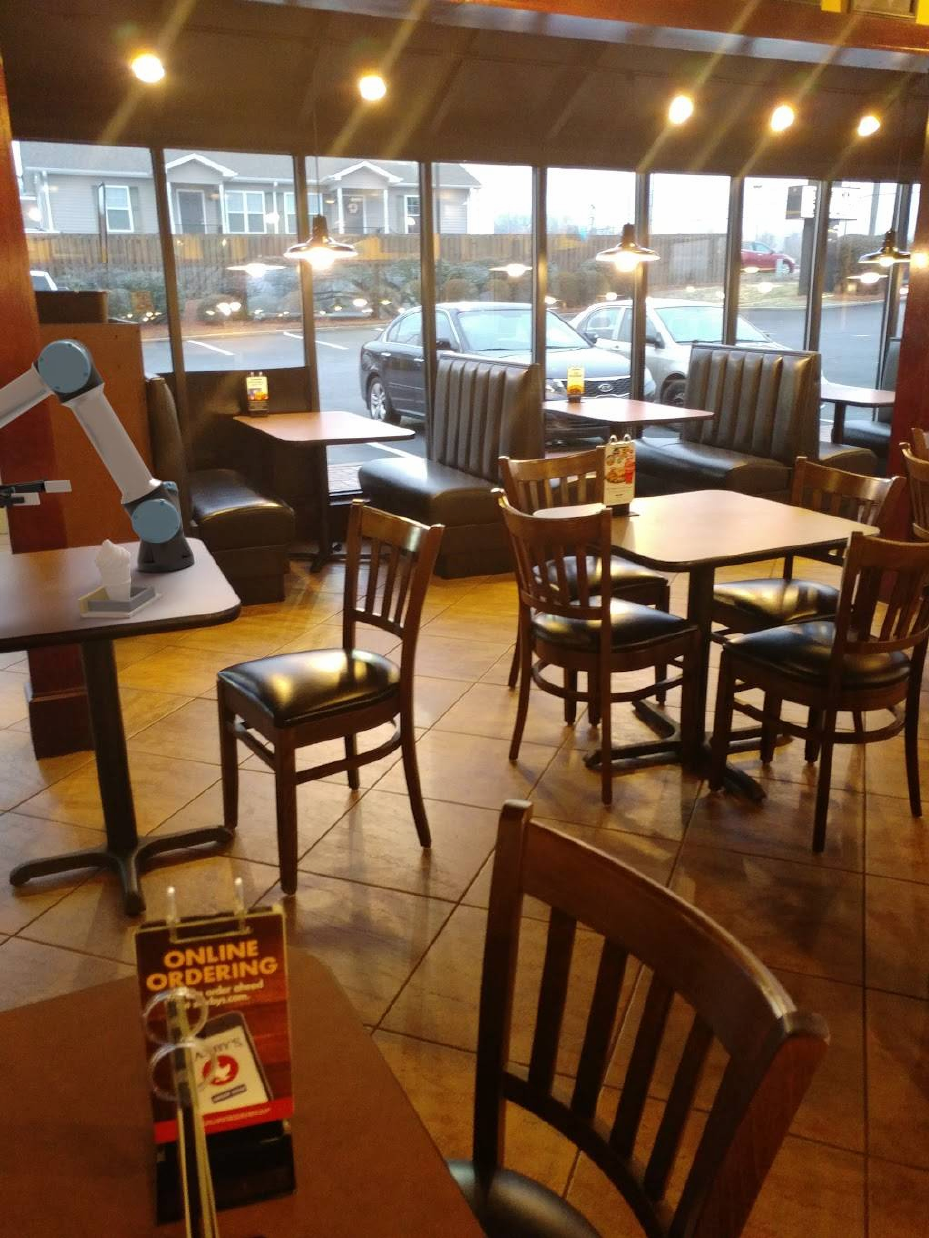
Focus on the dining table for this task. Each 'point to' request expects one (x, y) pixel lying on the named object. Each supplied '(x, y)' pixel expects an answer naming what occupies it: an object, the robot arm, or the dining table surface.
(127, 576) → the soft serve ice cream cone
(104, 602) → the grey shallow tray
